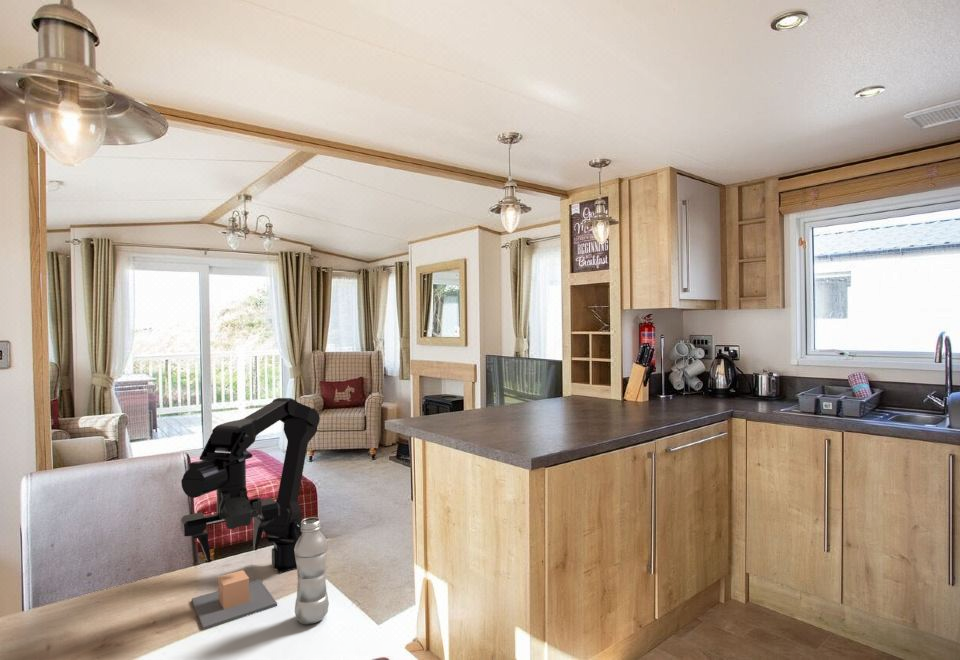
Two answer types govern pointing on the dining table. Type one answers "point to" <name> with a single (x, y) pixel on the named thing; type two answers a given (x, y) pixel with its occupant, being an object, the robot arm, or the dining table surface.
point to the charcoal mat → (215, 615)
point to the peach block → (233, 589)
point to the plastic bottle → (311, 573)
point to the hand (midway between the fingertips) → (232, 555)
